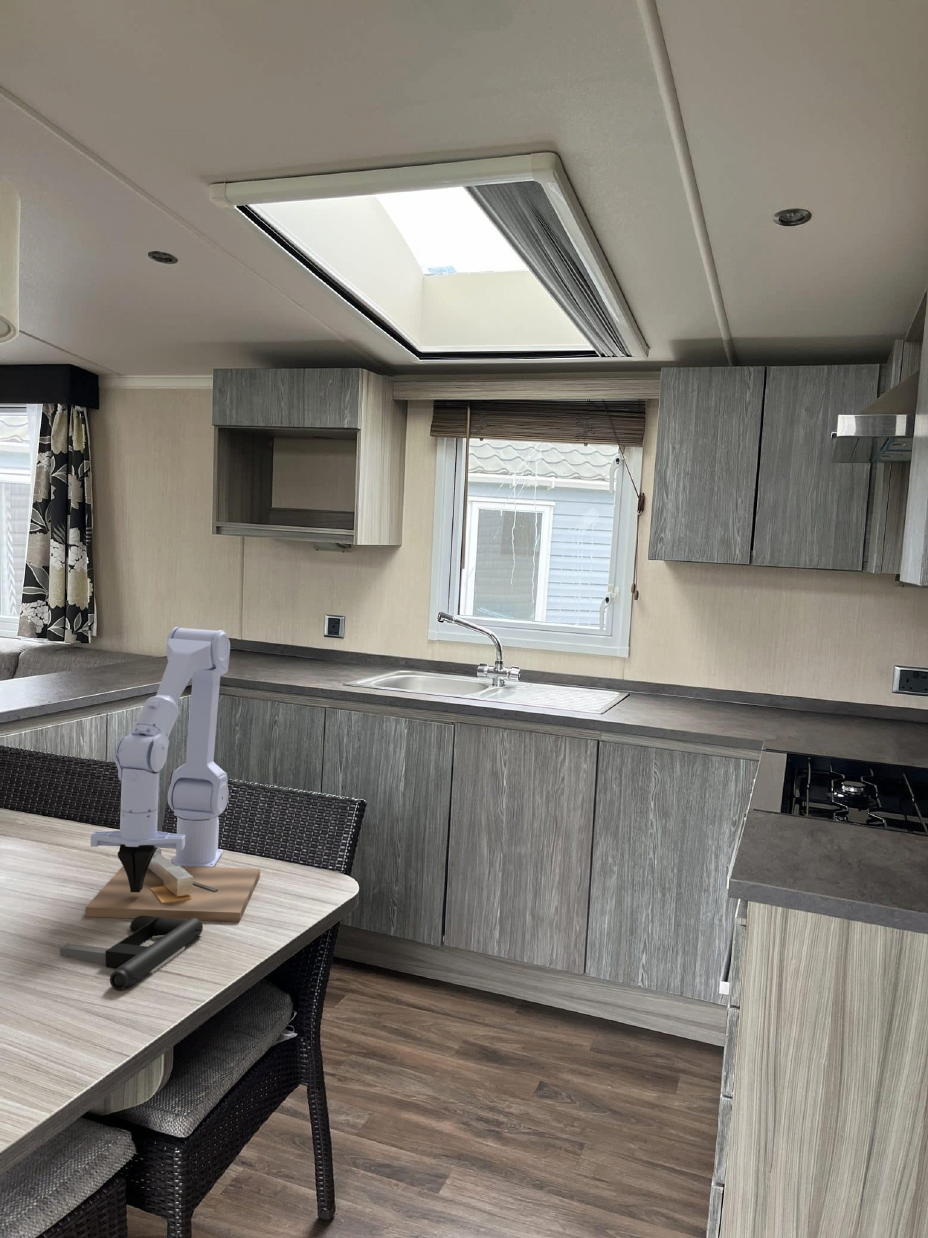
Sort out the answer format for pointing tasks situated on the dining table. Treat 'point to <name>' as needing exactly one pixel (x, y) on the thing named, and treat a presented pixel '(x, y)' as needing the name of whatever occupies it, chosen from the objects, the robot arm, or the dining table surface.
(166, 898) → the board
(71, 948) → the door handle
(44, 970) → the dining table surface
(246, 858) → the dining table surface
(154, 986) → the dining table surface
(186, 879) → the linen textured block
